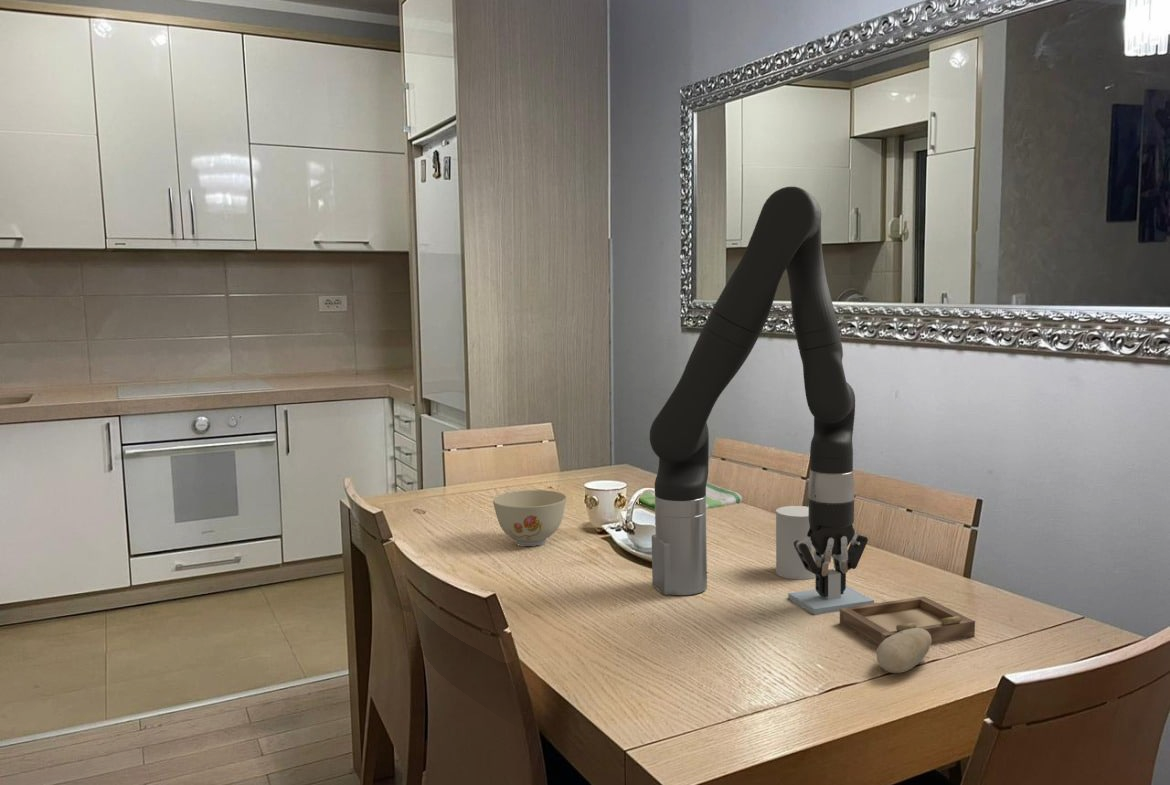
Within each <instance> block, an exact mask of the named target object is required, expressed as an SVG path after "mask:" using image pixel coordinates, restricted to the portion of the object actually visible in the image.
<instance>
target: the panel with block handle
mask: <svg viewBox="0 0 1170 785" xmlns="http://www.w3.org/2000/svg"><path fill="white" fill-rule="evenodd" d="M827 576H828V596H827V597H822V596H821V595H819V594H818V592H817V591H816V589H809V590H800V591H795V592H788V594H787V598H788V600H790V601H792V602H794V603H795V604H797V605H798V606H800V607H802V608H803V609H804V610H806V611H808V612H810V613H811V614H812V615H814V616H815V615H821V614H829V613H834V612H835V613H836V612H840V609H841V608H847V607H854V606H861V605H868V604H875V599H873V598H870V597H869V596H866V595H865V594H863V593H861V592H860V591H857V590H855V589H853V588H851V587H850V586H848V585H846V589H845V591H844V593H843V594H842V595H841V573H840V572H838V571H836V570H835V569H834V568H831V569H828V574H827Z"/></svg>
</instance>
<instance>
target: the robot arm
mask: <svg viewBox="0 0 1170 785" xmlns="http://www.w3.org/2000/svg"><path fill="white" fill-rule="evenodd" d="M822 242H823V241H822V209H821V207H820V204H819V202H818V201H817V199H816V197H815V196H813V195H812V194H811V193H809V192H808V191H807V190H806V189H803V188H802V187H798V186H785V187H782V188H779V189H777V190H776V191H774V192H773V193H772V194H771V195H769V197H768V198H767V199H766V200H765V202H764V204H763V206H762V208H761V210H760V213H759V215H758V218H757V221H756V224H755V225H754V229H753V231H752V234H751V237H750V238H749V242H748V243H747V246H746V249H745V251H744V253H743V255H742V257H741V259H740V261H739V263H738V265H737V266H736V268H735V269H734V271H733V272H732V275H731V276H730V277H729V279H728V281H727V283H726V284H725V286H724V288H723V289H722V291H721V293H720V295H719V297H718V299H717V300H716V302H715V304H714V305H713V307H712V310H711V312H710V313H709V315H708V317H707V319H706V321H705V323H704V324H703V326H702V329H701V331H700V333H699V336H698V338H697V340H696V342H695V345H694V347H693V348H692V351H691V353H690V355H689V358H688V360H687V362H686V366H685V367H684V370H683V372H682V375H681V376H680V379H679V380H678V382H677V385H676V386H675V388H674V390H673V391H672V393H671V394H670V396H669V397H668V399H667V400H666V402H665V403H664V405H663V407H662V408H661V410H660V411H659V412H658V413H657V415H656V417H655V418H654V420H653V422H652V423H651V426H650V430H649V443H650V447H651V449H652V450H653V452H654V454H655V455H656V456H657V457H658V469H657V473H656V477H655V480H654V491H655V510H654V520H655V523H654V525H655V526H654V528H655V530H654V532H655V534H651V572H652V576H651V577H652V586H654V587H655V589H657V590H658V591H659V592H661V594H663V595H665V596H668V595H674V596H691V595H697V594H699V593H703V592H705V591H706V590H707V588H708V564H707V562H708V560H707V556H708V555H707V553H708V552H707V509H706V483H707V482H708V477H709V460H710V459H709V457H710V456H709V452H710V451H709V450H710V449H709V448H710V447H709V443H710V440H709V438H710V436H709V435H710V434H709V427H708V423H707V422H708V420H709V417H710V415H711V413H712V410H713V408H714V406H715V405H716V402H717V401H718V398H719V397H720V396H721V394H722V393H723V391H724V390H725V389H726V387H728V385H729V384H730V383H731V381H732V380H733V378H734V377H735V376H736V375H737V374H738V372H739V370H740V369H741V368H742V366H743V365H744V364H745V362H746V360H747V359H748V357H749V356H750V354H751V352H752V351H753V348H754V347H755V345H756V343H757V341H758V339H759V337H760V335H761V333H762V332H763V329H764V327H765V325H766V323H767V320H768V318H769V315H770V313H771V308H772V306H773V304H774V303H773V302H774V300H775V297H776V292H777V291H778V290H777V289H778V286H779V285H780V282H781V279H782V276H783V275H784V273H785V271H786V273H787V278H788V284H789V292H790V293H789V294H790V305H791V314H792V322H793V329H794V333H795V338H796V344H797V348H798V351H799V356H800V360H801V363H802V370H803V371H802V372H803V374H802V375H803V383H804V392H805V399H806V403H807V407H808V409H809V411H810V414H811V415H812V417H813V436H812V439H811V442H810V449H809V452H810V453H809V454H810V455H809V465H810V466H809V478H808V492H807V493H808V507H809V516H808V519H809V524H810V528H809V531H808V533H807V537H806V538H804V539H803V540H801V541H798V540H796V541H795V542H794V547H795V549H796V551H797V553H798V555H799V557H800V559H801V561H802V563H803V565H804V567H805V569H806V570H808V571H810V572H812V573H813V574H815V576H816V578H814V579H815V581H814V582H815V585H814V586H815V587H814V588H815V589H816V591H817V592H818V594H819V595H821V596H822V597H827V596H828V576H827V574H828V570H829V567H830V563H831V562H833V569H834V570H836V571H838V572H840V573H841V595H842V594H843V593H844V591H845V589H846V586H847V584H846V583H847V573H848V571H850V570H852V569H853V570H855V569H856V568H857V567H858V564H859V562H860V560H861V558H862V555H863V553H864V550H865V549H866V546H867V544H868V541H869V539H868V537H867V536H865V535H863V534H860V533H857V532H855V529H854V526H853V525H854V523H855V478H854V449H853V447H854V446H853V434H854V426H855V425H854V424H855V418H856V417H855V415H856V395H855V392H854V389H853V388H852V386H851V384H849V383H848V382H847V379H846V374H845V370H844V365H843V357H844V351H843V349H844V348H843V344H842V338H841V334H840V330H839V325H838V320H837V315H836V312H835V308H834V304H833V301H832V296H831V292H830V288H829V285H828V281H827V275H826V274H827V273H826V270H825V263H824V256H823V244H822ZM811 544H812V545H813V546H814V548H815V550H814V559H815V561H814V559H813V557H812V555H811V553H810V551H811Z"/></svg>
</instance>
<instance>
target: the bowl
mask: <svg viewBox="0 0 1170 785" xmlns="http://www.w3.org/2000/svg"><path fill="white" fill-rule="evenodd" d="M566 503H567V496H566V495H565V494H564V493H561V492H558V491H555V490H554V491H553V490H545V489H528V490H527V489H526V490H515V491H510V492H509V491H508V492H505V493H502V494H499V495H496V496H495V497H493V499H492V504H493V507H494V511H495V515H496V519H497V522H498V525H499V526H500V528H501V530H502V531H503V532H504V533H505V534H506V536H508V537H510V538H511V539H513V540H515V542H516V543H515V544H516V545H518V544H519V545H523V546H522V547H524V546H535V547H537V546H536V545H540V546H542V545H541V544H543V545H544V543H545V544H546V542H547V539H548V538H549V537H551V536H553V534H555V533H556V531H557V530H558V529H559V528H560V525H561V523H562V522H563V517H564V512H565V508H566ZM519 545H518V546H519Z"/></svg>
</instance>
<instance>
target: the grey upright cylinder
mask: <svg viewBox="0 0 1170 785" xmlns="http://www.w3.org/2000/svg"><path fill="white" fill-rule="evenodd" d="M808 516H809V506H804V505H789V506H788V505H787V506H781V507H778V508H776V510H775V541H776V542H775V553H776V554H775V558H776V559H775V563H776V564H775V568H776V569H775V572H776V574H777V575H778V576H780V577H783V578H786V579H790V580H801V581H802V580H811V579H815V578H816V576H815V574H813V573H812V572H810V571H808V570H806V569H805V567H804V565H803V563H802V561H801V559H800V557H799V555H798V553H797V551H796V549H795V547H794V542H795V541H796V540H798V541H801V540H803V539H804V538H806V537H807V533H808V531H809V528H810V524H809V519H808ZM814 550H815V548H814V546H813V545H812V544H811V551H810V553H811V555H812V557H813V559H814ZM814 561H815V559H814Z"/></svg>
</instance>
